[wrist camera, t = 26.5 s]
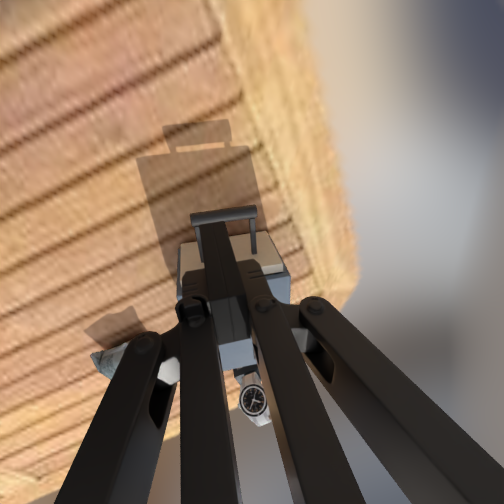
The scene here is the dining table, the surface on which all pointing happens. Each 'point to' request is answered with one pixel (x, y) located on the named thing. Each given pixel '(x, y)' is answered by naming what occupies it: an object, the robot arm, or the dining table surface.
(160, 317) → the dining table surface
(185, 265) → the drawer
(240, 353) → the cabinet
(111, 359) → the packaged food
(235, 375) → the watch
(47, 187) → the dining table surface
